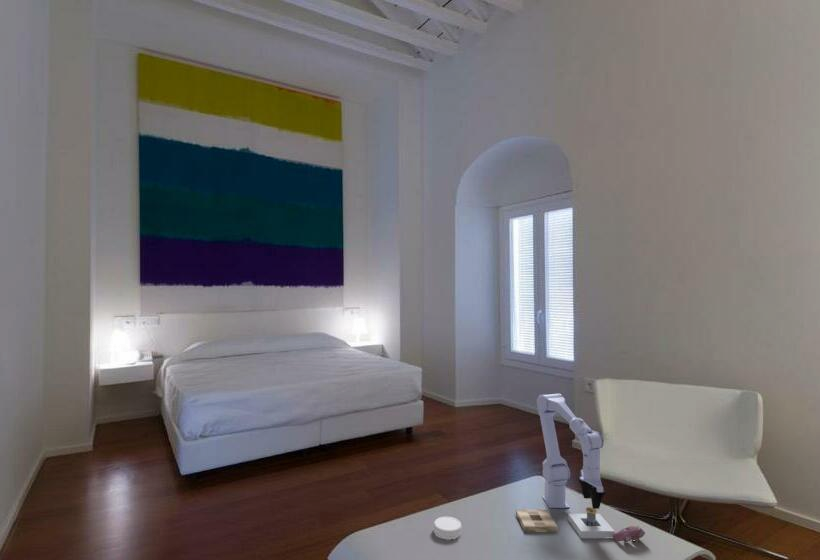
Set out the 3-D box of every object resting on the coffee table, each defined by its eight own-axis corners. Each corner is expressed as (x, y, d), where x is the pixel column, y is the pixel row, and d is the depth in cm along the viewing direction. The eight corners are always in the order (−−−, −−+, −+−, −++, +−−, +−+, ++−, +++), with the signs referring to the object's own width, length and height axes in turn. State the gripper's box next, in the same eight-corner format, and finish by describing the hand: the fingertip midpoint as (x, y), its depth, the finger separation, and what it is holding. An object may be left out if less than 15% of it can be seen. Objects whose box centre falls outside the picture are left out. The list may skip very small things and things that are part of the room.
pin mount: (515, 514, 170) (515, 509, 170) (546, 514, 171) (546, 509, 171) (524, 532, 158) (524, 526, 158) (557, 532, 159) (557, 526, 159)
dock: (568, 520, 167) (568, 513, 167) (599, 520, 167) (599, 513, 167) (581, 538, 155) (581, 531, 155) (614, 538, 155) (614, 531, 155)
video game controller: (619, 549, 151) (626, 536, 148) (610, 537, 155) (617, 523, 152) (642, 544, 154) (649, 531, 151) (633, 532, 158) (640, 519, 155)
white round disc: (460, 542, 152) (460, 532, 152) (431, 538, 154) (431, 528, 154) (462, 527, 162) (462, 517, 162) (435, 523, 164) (435, 514, 164)
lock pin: (584, 526, 163) (584, 507, 163) (593, 526, 163) (594, 507, 163) (588, 531, 159) (588, 512, 159) (598, 531, 159) (598, 512, 159)
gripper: (572, 458, 169) (572, 493, 168) (589, 474, 154) (589, 513, 154) (591, 458, 169) (590, 493, 168) (609, 474, 154) (608, 513, 154)
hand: (591, 503), depth 161 cm, fingers open, 7 cm apart
